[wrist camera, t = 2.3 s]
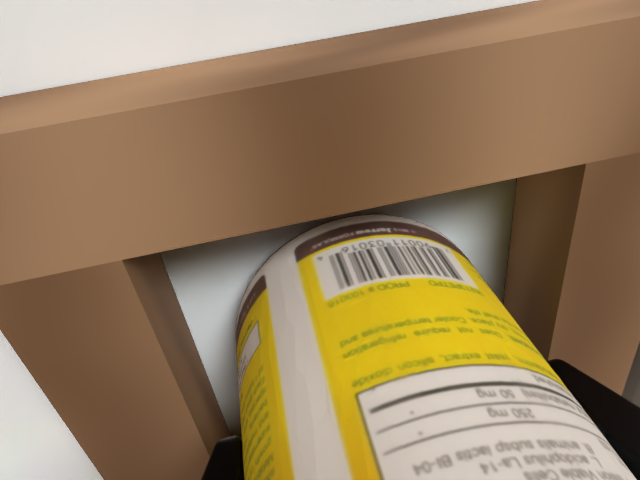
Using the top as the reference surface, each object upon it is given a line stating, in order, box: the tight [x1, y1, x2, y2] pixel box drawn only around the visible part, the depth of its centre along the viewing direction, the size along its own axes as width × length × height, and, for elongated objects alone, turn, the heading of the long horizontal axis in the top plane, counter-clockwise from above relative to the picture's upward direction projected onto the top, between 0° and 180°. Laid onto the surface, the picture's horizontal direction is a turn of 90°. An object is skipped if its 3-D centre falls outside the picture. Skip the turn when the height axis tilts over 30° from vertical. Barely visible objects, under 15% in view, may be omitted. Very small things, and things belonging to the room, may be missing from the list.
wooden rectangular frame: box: [0, 0, 640, 480], centre depth 11 cm, size 12×12×2 cm
